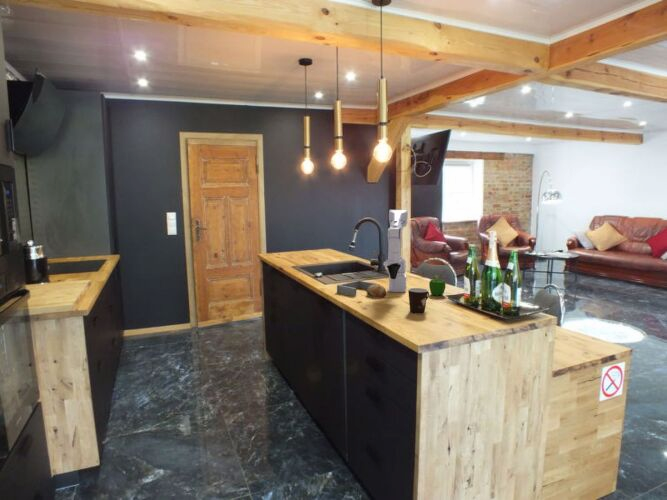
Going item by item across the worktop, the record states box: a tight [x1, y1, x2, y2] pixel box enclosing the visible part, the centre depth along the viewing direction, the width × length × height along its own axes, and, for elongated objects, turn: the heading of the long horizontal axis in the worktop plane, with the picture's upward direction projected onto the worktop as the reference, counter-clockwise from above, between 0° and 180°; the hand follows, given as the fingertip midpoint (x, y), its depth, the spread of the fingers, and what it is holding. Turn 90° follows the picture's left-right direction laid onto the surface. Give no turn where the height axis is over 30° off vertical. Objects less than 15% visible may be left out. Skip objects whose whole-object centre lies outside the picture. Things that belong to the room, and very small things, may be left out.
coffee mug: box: [407, 287, 430, 314], centre depth 191 cm, size 12×9×10 cm
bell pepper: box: [428, 275, 446, 297], centre depth 223 cm, size 8×8×10 cm
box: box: [336, 280, 377, 297], centre depth 229 cm, size 12×18×4 cm, turn 138°
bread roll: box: [366, 283, 387, 299], centre depth 221 cm, size 10×10×8 cm
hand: (393, 278), depth 213 cm, fingers closed
